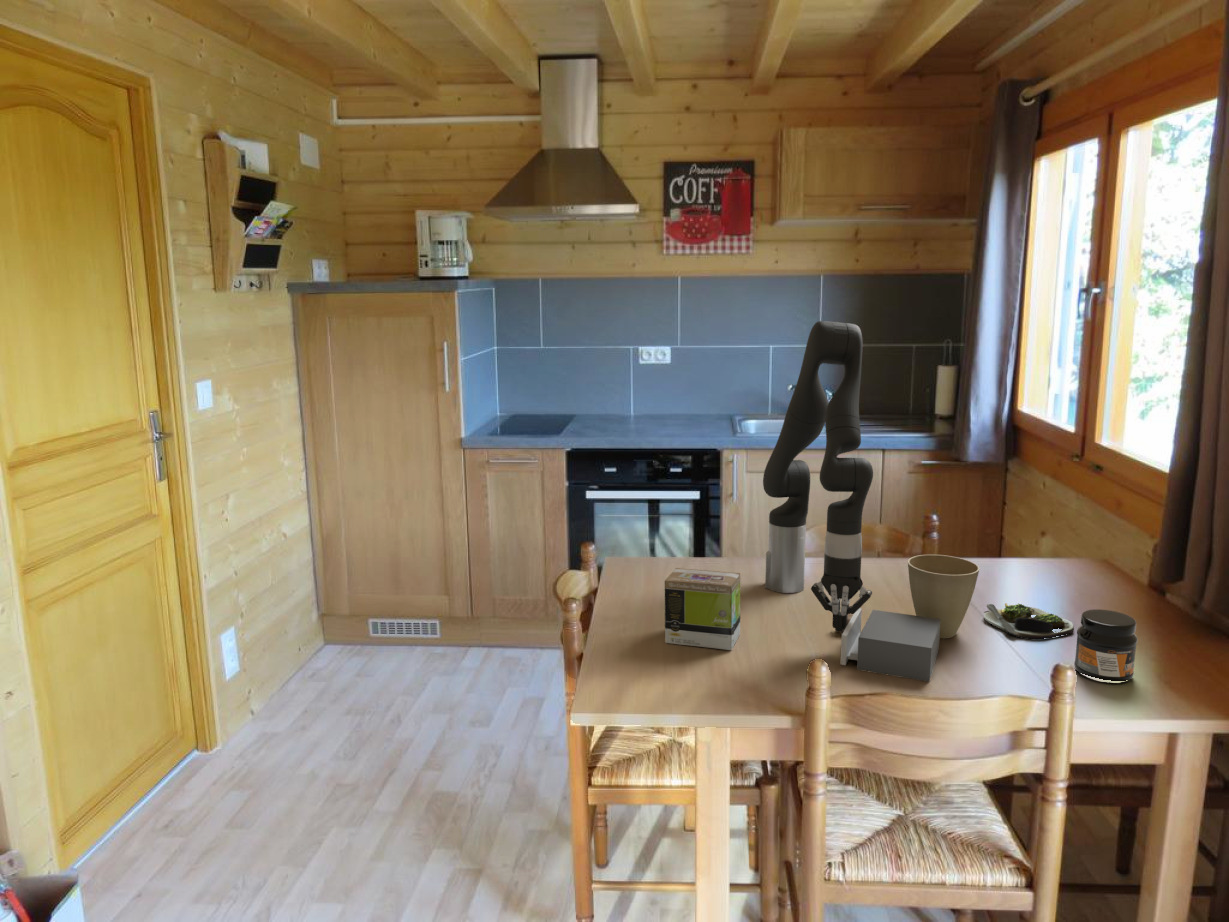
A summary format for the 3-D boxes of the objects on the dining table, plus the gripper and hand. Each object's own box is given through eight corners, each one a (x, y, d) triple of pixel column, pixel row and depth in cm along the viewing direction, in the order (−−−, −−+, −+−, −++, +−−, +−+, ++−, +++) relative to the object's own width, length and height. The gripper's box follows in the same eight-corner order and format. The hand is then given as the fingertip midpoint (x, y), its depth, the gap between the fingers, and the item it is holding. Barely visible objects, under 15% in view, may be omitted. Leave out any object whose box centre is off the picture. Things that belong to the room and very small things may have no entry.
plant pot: (940, 650, 194) (945, 578, 191) (889, 627, 207) (893, 560, 204) (989, 637, 200) (994, 568, 197) (937, 616, 213) (941, 550, 210)
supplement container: (1107, 689, 174) (1113, 630, 172) (1061, 669, 184) (1066, 612, 182) (1145, 680, 179) (1152, 622, 176) (1098, 660, 188) (1103, 604, 186)
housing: (857, 669, 184) (858, 637, 183) (871, 639, 200) (872, 609, 198) (929, 681, 179) (931, 648, 177) (938, 650, 194) (940, 619, 192)
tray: (840, 664, 186) (841, 634, 185) (855, 635, 201) (857, 607, 200) (910, 676, 180) (912, 645, 179) (921, 645, 195) (923, 617, 194)
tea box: (740, 635, 203) (741, 571, 200) (731, 652, 194) (732, 586, 191) (675, 627, 208) (675, 565, 205) (663, 643, 199) (663, 579, 196)
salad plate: (959, 615, 214) (961, 597, 214) (1020, 606, 220) (1021, 588, 219) (1021, 646, 197) (1023, 625, 196) (1085, 634, 202) (1087, 615, 201)
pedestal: (835, 633, 203) (835, 618, 203) (838, 627, 207) (839, 612, 206) (853, 636, 202) (854, 621, 201) (856, 630, 205) (857, 615, 205)
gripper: (807, 552, 189) (804, 631, 193) (872, 560, 184) (868, 641, 187) (815, 543, 196) (812, 619, 199) (878, 550, 190) (874, 629, 194)
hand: (839, 630), depth 193 cm, fingers closed
